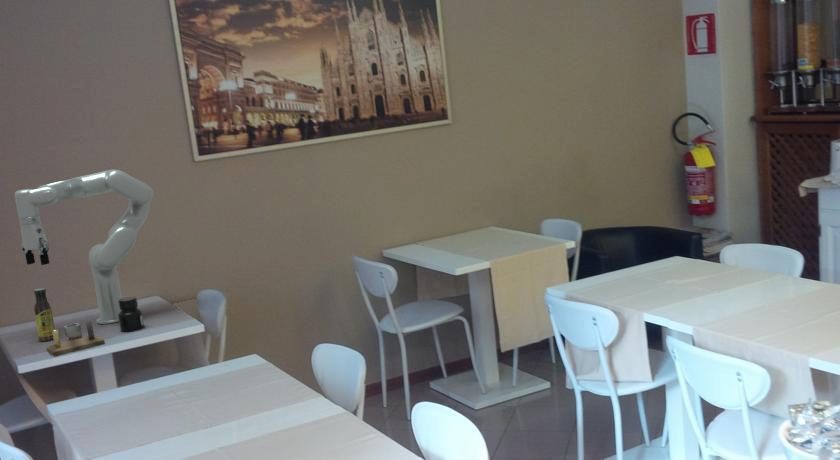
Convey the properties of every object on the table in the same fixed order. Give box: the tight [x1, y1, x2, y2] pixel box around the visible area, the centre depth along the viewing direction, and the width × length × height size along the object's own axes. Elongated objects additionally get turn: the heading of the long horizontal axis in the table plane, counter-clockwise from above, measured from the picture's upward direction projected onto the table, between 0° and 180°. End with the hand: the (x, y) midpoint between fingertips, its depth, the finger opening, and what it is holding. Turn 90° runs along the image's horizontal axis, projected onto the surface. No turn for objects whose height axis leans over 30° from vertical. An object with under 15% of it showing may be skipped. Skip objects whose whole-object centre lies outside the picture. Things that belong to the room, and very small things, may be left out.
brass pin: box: [52, 328, 62, 348], centre depth 330 cm, size 2×2×8 cm
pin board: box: [45, 320, 106, 357], centre depth 333 cm, size 18×12×8 cm, turn 123°
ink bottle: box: [118, 296, 145, 333], centre depth 351 cm, size 10×9×12 cm
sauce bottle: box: [33, 287, 56, 342], centre depth 349 cm, size 6×6×20 cm
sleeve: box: [62, 322, 83, 342], centre depth 343 cm, size 5×5×6 cm
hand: (38, 264), depth 355 cm, fingers open, 9 cm apart
